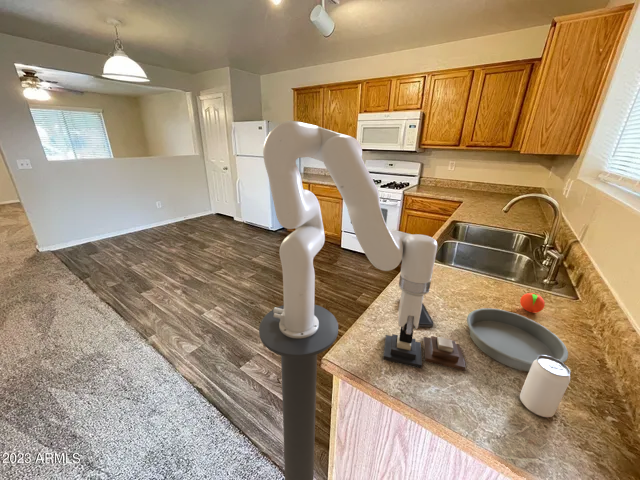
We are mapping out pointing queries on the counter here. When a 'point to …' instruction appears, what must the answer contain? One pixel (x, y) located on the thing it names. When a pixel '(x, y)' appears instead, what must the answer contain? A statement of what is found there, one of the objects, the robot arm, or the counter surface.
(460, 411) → the counter surface
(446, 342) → the key
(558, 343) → the cake pan
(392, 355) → the keypad
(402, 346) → the key
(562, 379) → the can
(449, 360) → the keypad
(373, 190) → the robot arm
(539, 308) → the tomato
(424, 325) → the phone
